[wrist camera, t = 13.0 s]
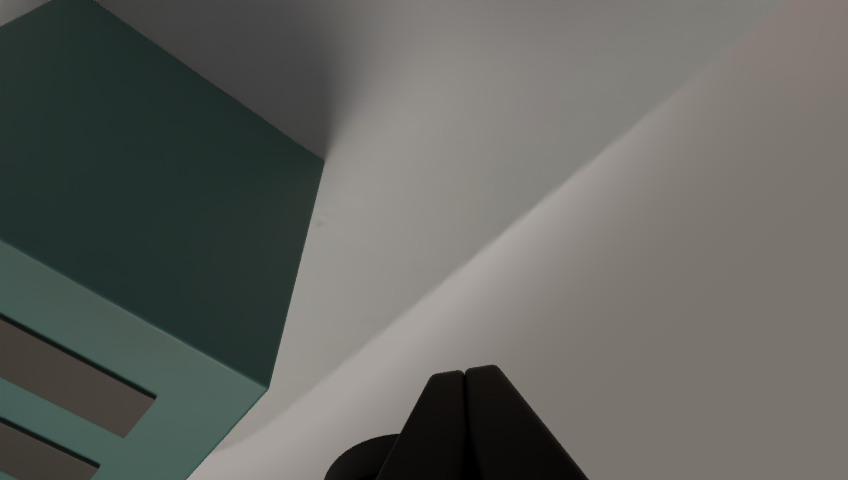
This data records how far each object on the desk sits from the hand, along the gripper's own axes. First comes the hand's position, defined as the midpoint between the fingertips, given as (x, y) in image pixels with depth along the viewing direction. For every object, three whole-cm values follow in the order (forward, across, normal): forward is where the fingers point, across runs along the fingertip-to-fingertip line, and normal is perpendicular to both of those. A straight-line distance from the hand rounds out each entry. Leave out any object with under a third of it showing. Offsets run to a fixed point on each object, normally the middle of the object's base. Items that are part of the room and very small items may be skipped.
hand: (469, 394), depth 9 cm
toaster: (+13, +10, +2) cm, 17 cm away
